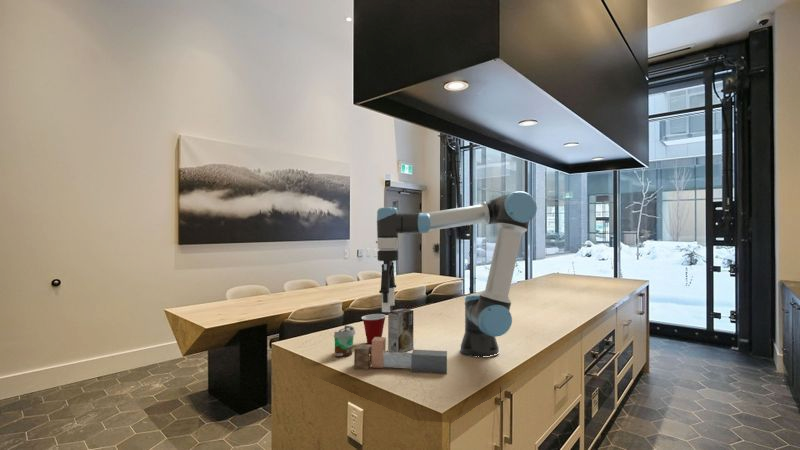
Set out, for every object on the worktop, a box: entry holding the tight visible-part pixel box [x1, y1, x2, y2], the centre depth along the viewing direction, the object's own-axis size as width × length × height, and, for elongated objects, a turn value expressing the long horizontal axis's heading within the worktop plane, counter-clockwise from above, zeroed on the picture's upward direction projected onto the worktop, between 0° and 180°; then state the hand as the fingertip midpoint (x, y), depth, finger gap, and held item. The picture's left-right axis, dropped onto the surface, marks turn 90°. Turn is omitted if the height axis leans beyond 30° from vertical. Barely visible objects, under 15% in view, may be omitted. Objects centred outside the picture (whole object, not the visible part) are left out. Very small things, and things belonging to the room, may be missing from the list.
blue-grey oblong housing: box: [410, 349, 448, 375], centre depth 132 cm, size 12×6×6 cm, turn 83°
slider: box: [369, 336, 412, 369], centre depth 134 cm, size 22×5×9 cm, turn 83°
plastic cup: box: [361, 313, 387, 345], centre depth 166 cm, size 11×11×12 cm
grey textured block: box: [353, 343, 372, 371], centre depth 135 cm, size 5×6×7 cm
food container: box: [333, 325, 356, 359], centre depth 149 cm, size 12×6×10 cm, turn 168°
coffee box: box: [387, 308, 414, 353], centre depth 157 cm, size 9×6×16 cm
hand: (388, 308), depth 138 cm, fingers open, 13 cm apart
